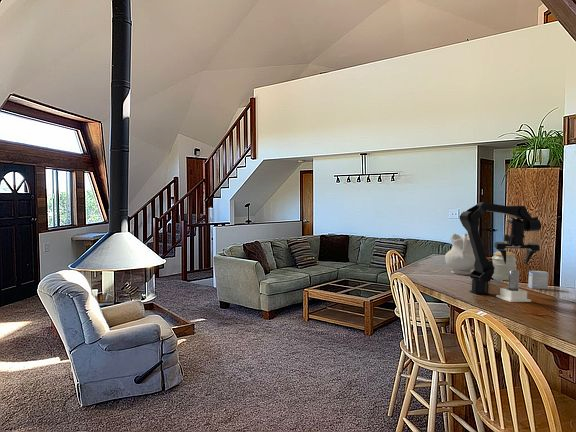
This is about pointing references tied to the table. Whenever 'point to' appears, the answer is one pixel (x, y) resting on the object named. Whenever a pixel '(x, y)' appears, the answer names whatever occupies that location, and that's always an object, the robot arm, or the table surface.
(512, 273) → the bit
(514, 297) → the socket
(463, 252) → the ceramic pitcher
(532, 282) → the medicine box
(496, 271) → the jar
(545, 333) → the table surface
